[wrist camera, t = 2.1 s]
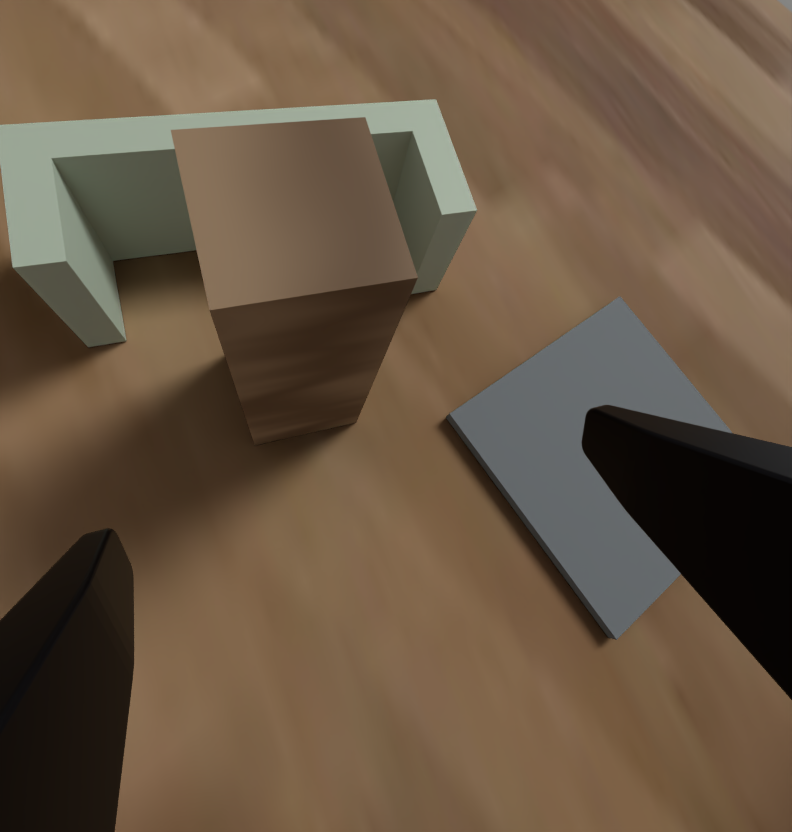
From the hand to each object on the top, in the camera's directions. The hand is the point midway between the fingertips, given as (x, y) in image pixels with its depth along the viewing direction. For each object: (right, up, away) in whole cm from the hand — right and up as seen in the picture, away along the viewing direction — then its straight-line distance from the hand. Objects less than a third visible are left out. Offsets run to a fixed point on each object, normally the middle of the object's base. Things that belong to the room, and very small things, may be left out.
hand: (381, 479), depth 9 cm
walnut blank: (-4, +2, +13) cm, 14 cm away
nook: (-6, +8, +14) cm, 17 cm away
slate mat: (+11, -1, +15) cm, 19 cm away
